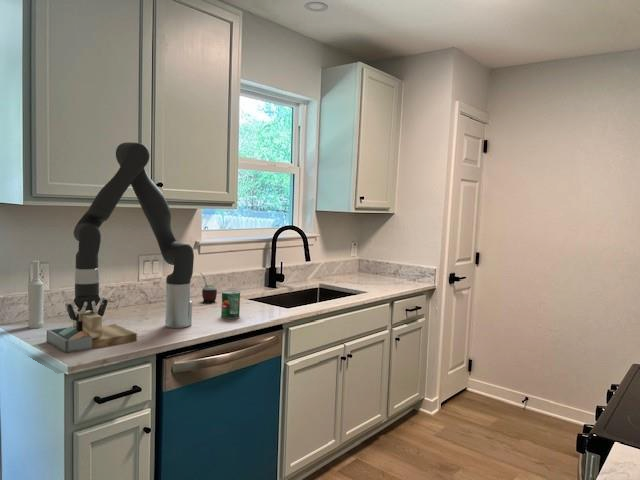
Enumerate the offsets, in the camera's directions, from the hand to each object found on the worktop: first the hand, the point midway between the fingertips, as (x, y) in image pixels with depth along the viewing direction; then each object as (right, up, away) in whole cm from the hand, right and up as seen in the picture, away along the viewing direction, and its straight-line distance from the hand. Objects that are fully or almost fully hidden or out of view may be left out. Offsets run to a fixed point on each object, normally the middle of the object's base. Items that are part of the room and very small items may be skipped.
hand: (87, 330), depth 171 cm
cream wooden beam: (0, -1, 0) cm, 1 cm away
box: (-4, -4, -4) cm, 7 cm away
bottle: (-27, -2, +17) cm, 32 cm away
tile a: (-6, -2, 0) cm, 6 cm away
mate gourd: (+25, 0, +75) cm, 79 cm away
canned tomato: (+41, -3, +46) cm, 62 cm away
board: (+4, -4, +5) cm, 7 cm away
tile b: (+1, -3, -6) cm, 6 cm away
